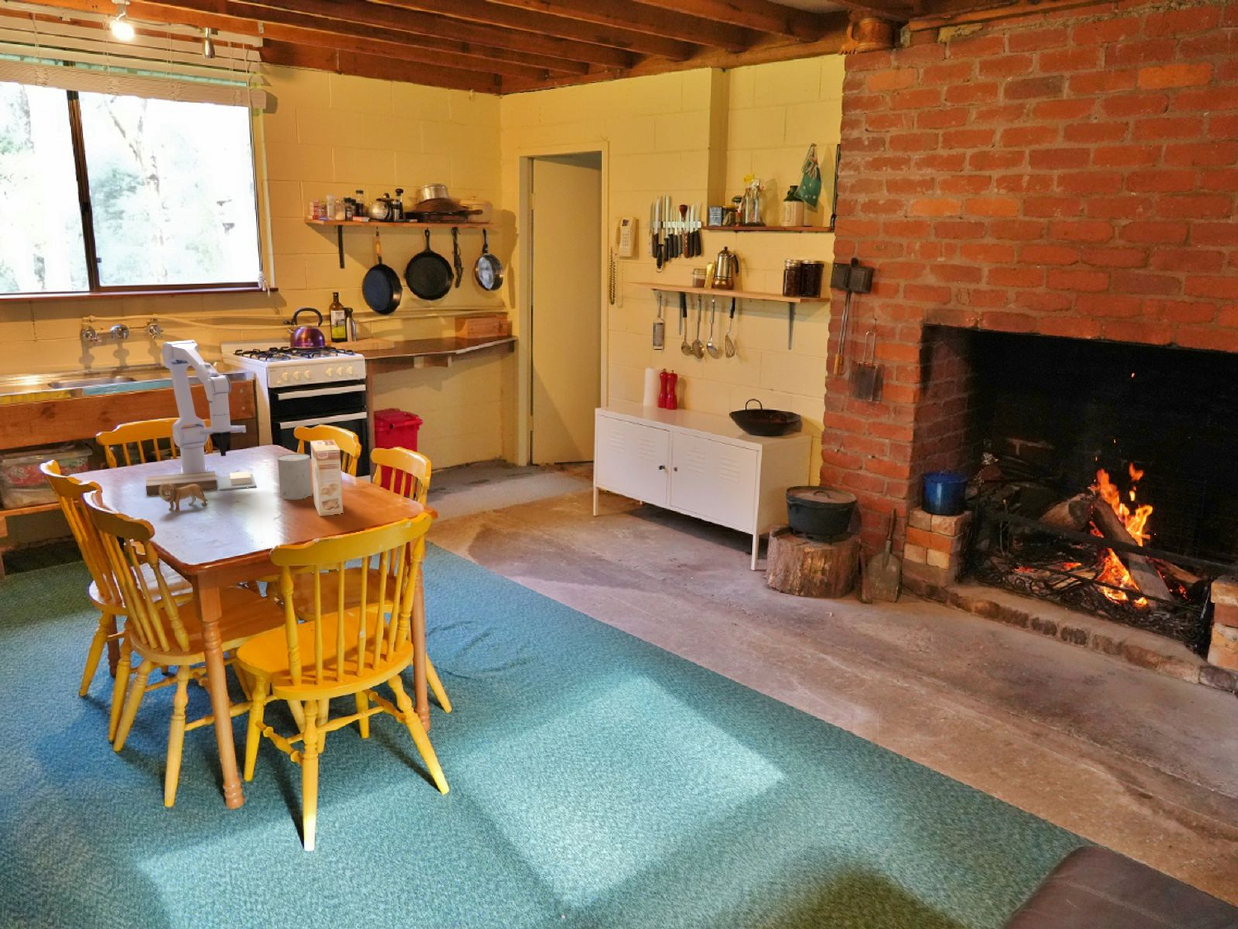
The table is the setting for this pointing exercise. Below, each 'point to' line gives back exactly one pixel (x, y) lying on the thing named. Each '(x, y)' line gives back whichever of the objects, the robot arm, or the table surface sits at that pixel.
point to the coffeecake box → (326, 477)
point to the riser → (182, 481)
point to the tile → (240, 478)
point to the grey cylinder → (294, 476)
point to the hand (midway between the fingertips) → (223, 455)
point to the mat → (226, 485)
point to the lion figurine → (180, 494)
